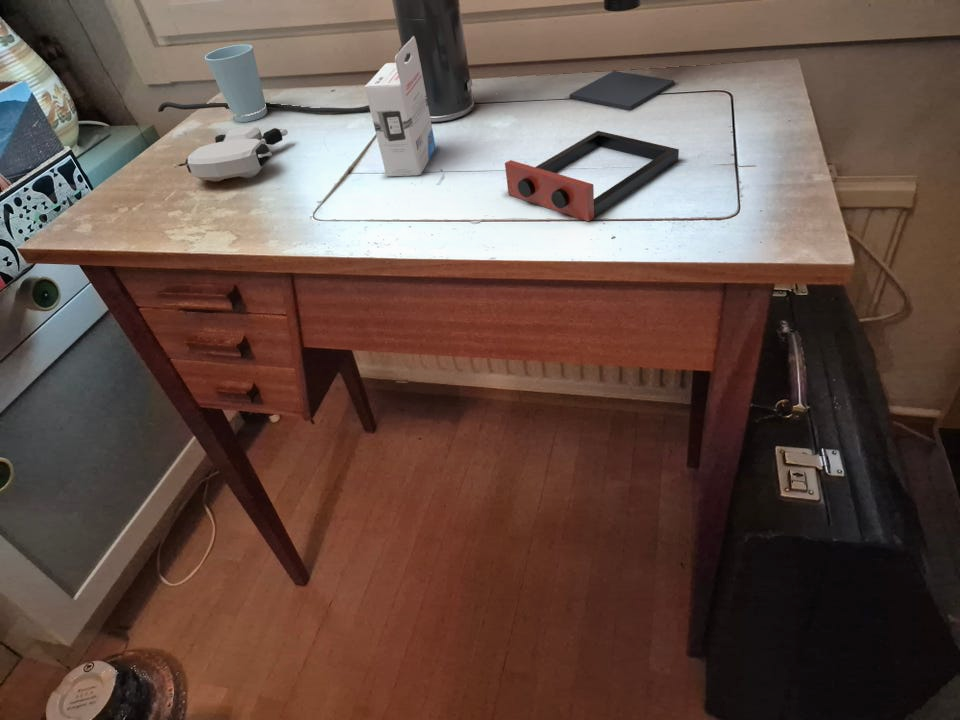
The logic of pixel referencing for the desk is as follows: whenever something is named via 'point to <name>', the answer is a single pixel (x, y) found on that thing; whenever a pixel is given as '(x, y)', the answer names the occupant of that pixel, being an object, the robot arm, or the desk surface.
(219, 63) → the cup
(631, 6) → the can
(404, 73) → the ink box
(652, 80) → the mat
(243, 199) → the desk surface
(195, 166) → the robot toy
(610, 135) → the stove
